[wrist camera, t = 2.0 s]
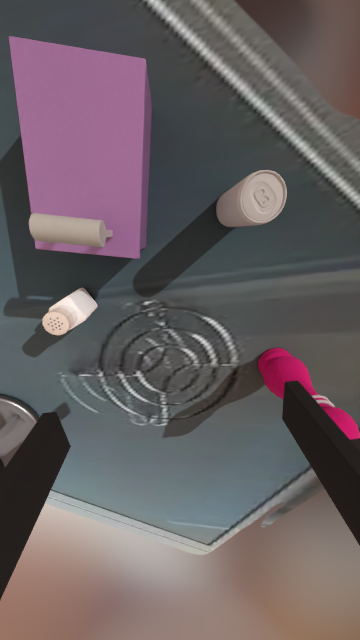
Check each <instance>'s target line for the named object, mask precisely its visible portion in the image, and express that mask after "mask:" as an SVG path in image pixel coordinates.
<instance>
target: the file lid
mask: <svg viewBox="0 0 360 640" xmlns="http://www.w3.org/2000/svg"><path fill="white" fill-rule="evenodd" d="M9 42H10V50H11V58H12V66H13V74H14V82H15V90H16V98H17V105H18V113H19V121H20V129H21V137H22V145H23V153H24V160H25V168H26V176H27V184H28V192H29V200H30V208H31V216H30V219H29V229H30V232H31V235H32V237H33V238H34V239H35V247H36V249H42V250H52V251H63V252H73V253H83V254H94V255H104V256H115V257H125V258H135V259H139V258H140V240H141V211H142V181H143V152H144V122H145V92H146V59H143V58H137V57H131V56H125V55H119V54H113V53H107V52H101V51H95V50H89V49H83V48H77V47H71V46H65V45H59V44H53V43H47V42H41V41H35V40H29V39H23V38H18V37H12V36H9Z"/></svg>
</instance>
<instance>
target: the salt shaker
mask: <svg viewBox="0 0 360 640" xmlns="http://www.w3.org/2000/svg"><path fill="white" fill-rule="evenodd" d="M97 307H98V305H97V303H96V302H95V301H94V299H93V298H92V297H91V296H90V294H89V293H88V292H87V291H86V289H84V288H79V289H78V290H76V291H75V292H73V293H71V294H70V295H68V296H67V297H65V298H64V299H62V300H61V301H59V302H58V303H56V304H55V305H53V306H52V307H50V308H49V312H48V313H47V314H46V315H45V316H44V317H43V326H44V328H45V330H46V331H48V332H49V333H51V334H53V335H62V334H65V333H66V332H67V331H68V330H71V329H73V328H74V327H76V326H77V325H79V324H80V323H82V322H83V321H85V320H86V319H87V318H88V317H89V316H90V315H91V314H92V312H93V311H94V310H95V309H96V308H97Z"/></svg>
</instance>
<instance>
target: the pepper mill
mask: <svg viewBox="0 0 360 640" xmlns="http://www.w3.org/2000/svg"><path fill="white" fill-rule="evenodd" d="M258 368H259V370H260V372H261V373H262V375H263V379H264V382H265V384H266V386H267V387H268V388H269V390H270V391H271V392H272V393H274V394H275V395H277V396H278V397H280V398H282V399H284V383H285V382H288V381H296V380H298V381H299V382H300V383H301V384H302V385H303V387H304V388H305V389H306V390H307V391H308V392H309V393H310V395H311V396H312V397H313V398H314V399H315V400H316V401H317V403H318V404H319V405H320V406H321V407H322V408H323V409H324V411H325V412H326V413H327V414H328V415H329V416H330V417H331V419H332V420H333V421H334V422H335V423H336V424H337V425H338V427H339V428H340V429H341V430H342V431H343V432H344V433H345V434H346V436H347V437H348V438H349V439H358V438H360V435H359V430H358V427H357V425H356V423H355V422H354V420H353V419H352V418H351V417H350V416H349V415H348V414H347V413H346V412H345V411H343V410H341V409H339V408H336V407H335V406H334V405H333V404H332V403H331V402H330V401H329V400H328V399H327V398H326V397H324V396H321V395H319V394H317V393H316V391H315V390H314V389H313V387H312V384H311V379H310V375H309V372H308V370H307V368H306V367H305V365H304V364H303V363H302V362H301V361H300V360H299V359H297V358H295V357H292V356H291V355H290V354H289V353H288V352H287V351H286V350H284V349H281V348H273V349H270V350H268V351H266V352H265V353H264V354H262V356H261V357H260V359H259V361H258Z"/></svg>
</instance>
